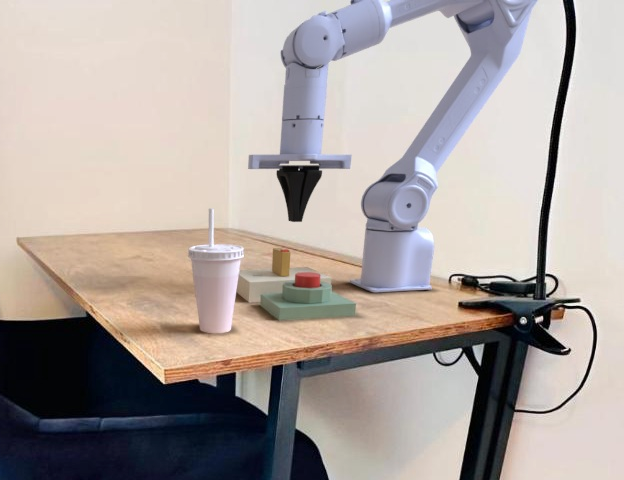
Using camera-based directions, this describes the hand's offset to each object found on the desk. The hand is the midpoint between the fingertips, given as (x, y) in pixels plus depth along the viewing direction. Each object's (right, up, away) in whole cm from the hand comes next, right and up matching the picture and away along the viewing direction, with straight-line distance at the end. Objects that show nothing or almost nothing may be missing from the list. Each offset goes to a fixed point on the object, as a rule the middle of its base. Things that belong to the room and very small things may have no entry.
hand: (295, 221), depth 81 cm
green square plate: (-1, -14, -8) cm, 16 cm away
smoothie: (-13, -17, -15) cm, 26 cm away
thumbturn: (-2, -8, +1) cm, 8 cm away
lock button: (-1, -11, -9) cm, 14 cm away
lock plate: (-2, -10, +2) cm, 11 cm away
